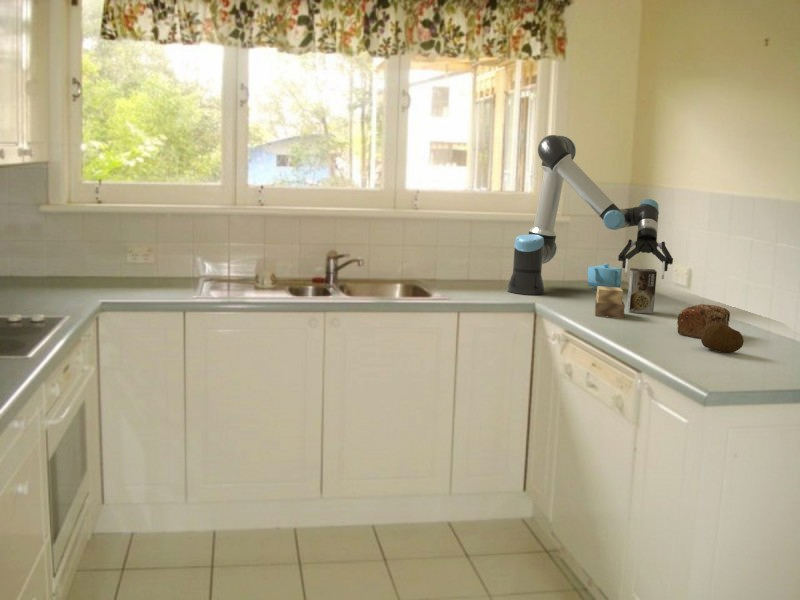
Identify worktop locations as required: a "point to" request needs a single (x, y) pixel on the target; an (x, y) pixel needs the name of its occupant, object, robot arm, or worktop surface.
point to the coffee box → (641, 290)
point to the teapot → (604, 276)
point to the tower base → (609, 309)
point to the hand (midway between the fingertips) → (644, 275)
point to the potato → (721, 338)
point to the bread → (700, 319)
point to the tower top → (609, 295)
